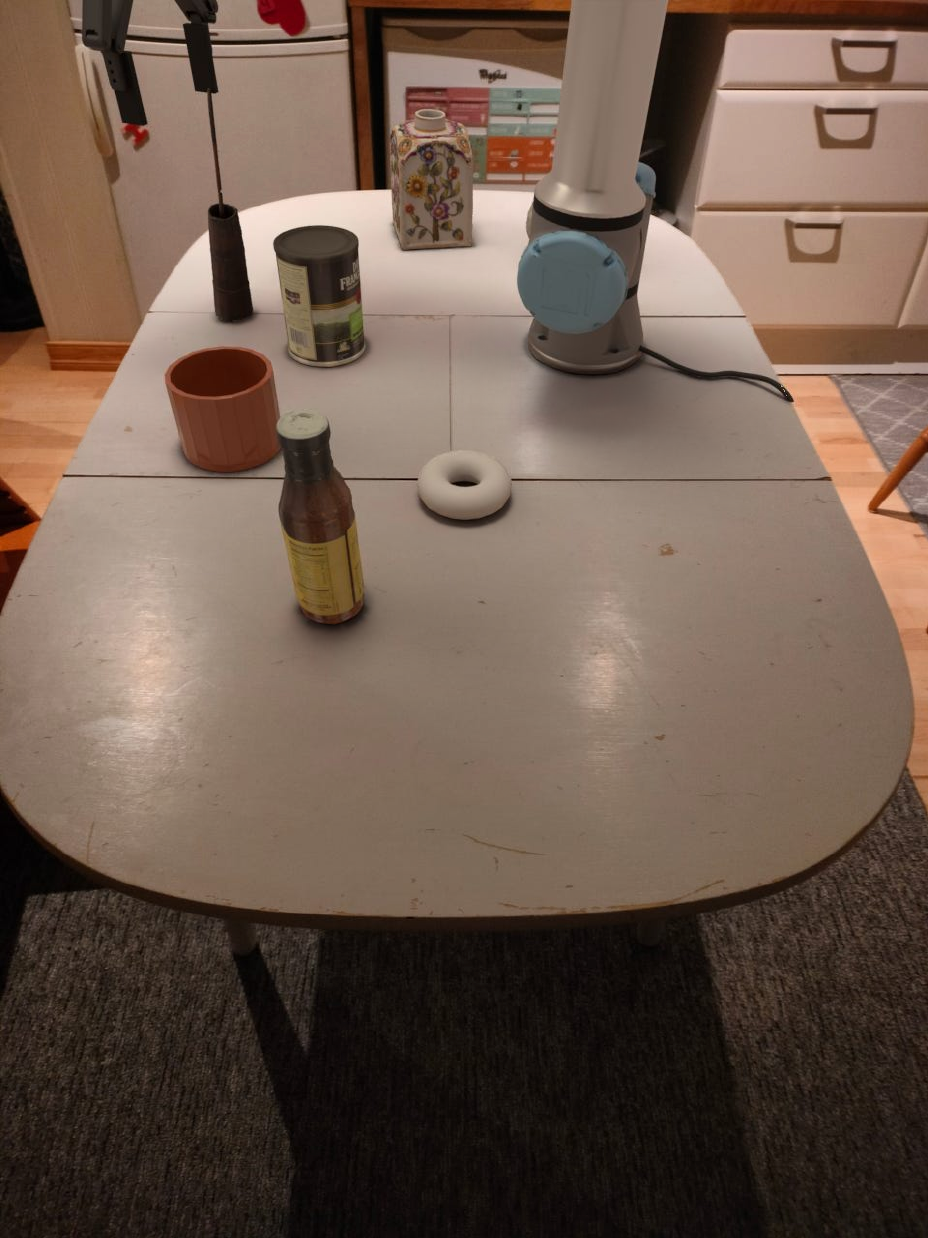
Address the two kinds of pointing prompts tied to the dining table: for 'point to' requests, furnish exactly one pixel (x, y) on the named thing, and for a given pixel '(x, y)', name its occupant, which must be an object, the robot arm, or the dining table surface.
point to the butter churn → (227, 251)
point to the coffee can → (321, 294)
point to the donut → (464, 499)
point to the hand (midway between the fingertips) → (172, 107)
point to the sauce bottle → (318, 521)
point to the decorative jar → (431, 182)
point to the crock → (225, 407)
